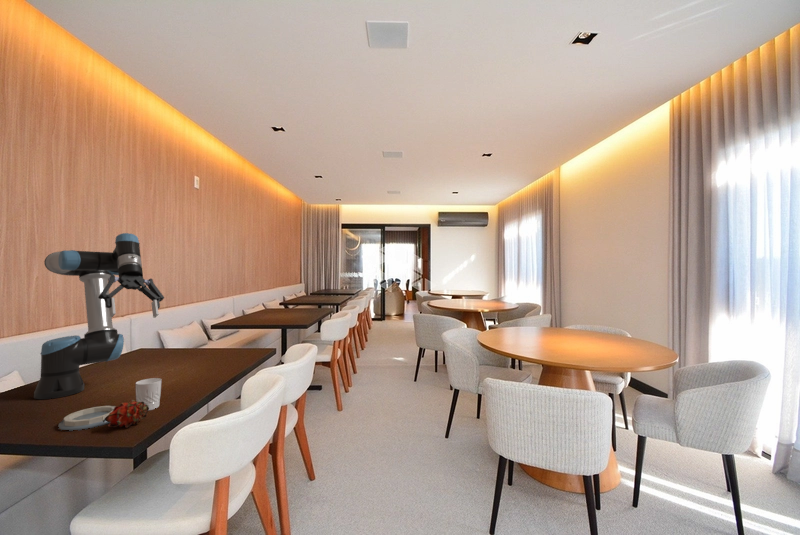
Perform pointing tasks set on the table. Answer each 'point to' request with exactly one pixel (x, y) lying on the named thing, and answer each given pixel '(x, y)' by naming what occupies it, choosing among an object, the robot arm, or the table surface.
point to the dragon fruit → (127, 414)
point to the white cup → (149, 392)
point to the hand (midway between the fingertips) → (135, 315)
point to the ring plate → (86, 418)
